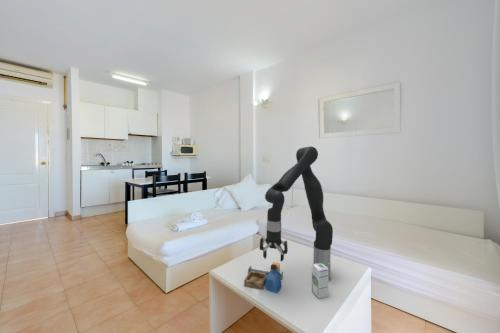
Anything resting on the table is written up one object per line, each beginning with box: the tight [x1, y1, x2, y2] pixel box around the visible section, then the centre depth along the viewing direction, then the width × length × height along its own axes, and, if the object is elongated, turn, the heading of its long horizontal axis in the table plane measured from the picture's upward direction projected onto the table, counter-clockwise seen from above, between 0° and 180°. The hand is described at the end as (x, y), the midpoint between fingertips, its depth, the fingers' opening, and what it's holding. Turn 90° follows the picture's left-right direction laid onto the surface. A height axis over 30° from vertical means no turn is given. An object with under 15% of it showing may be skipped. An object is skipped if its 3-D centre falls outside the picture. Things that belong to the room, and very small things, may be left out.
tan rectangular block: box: [265, 261, 281, 274], centre depth 120 cm, size 8×4×6 cm, turn 72°
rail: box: [247, 265, 284, 281], centre depth 121 cm, size 20×4×2 cm, turn 72°
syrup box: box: [311, 263, 329, 299], centre depth 104 cm, size 6×6×14 cm
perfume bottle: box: [264, 264, 283, 294], centre depth 108 cm, size 6×6×12 cm
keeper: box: [243, 271, 267, 291], centre depth 113 cm, size 10×10×3 cm
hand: (273, 259), depth 108 cm, fingers open, 8 cm apart
